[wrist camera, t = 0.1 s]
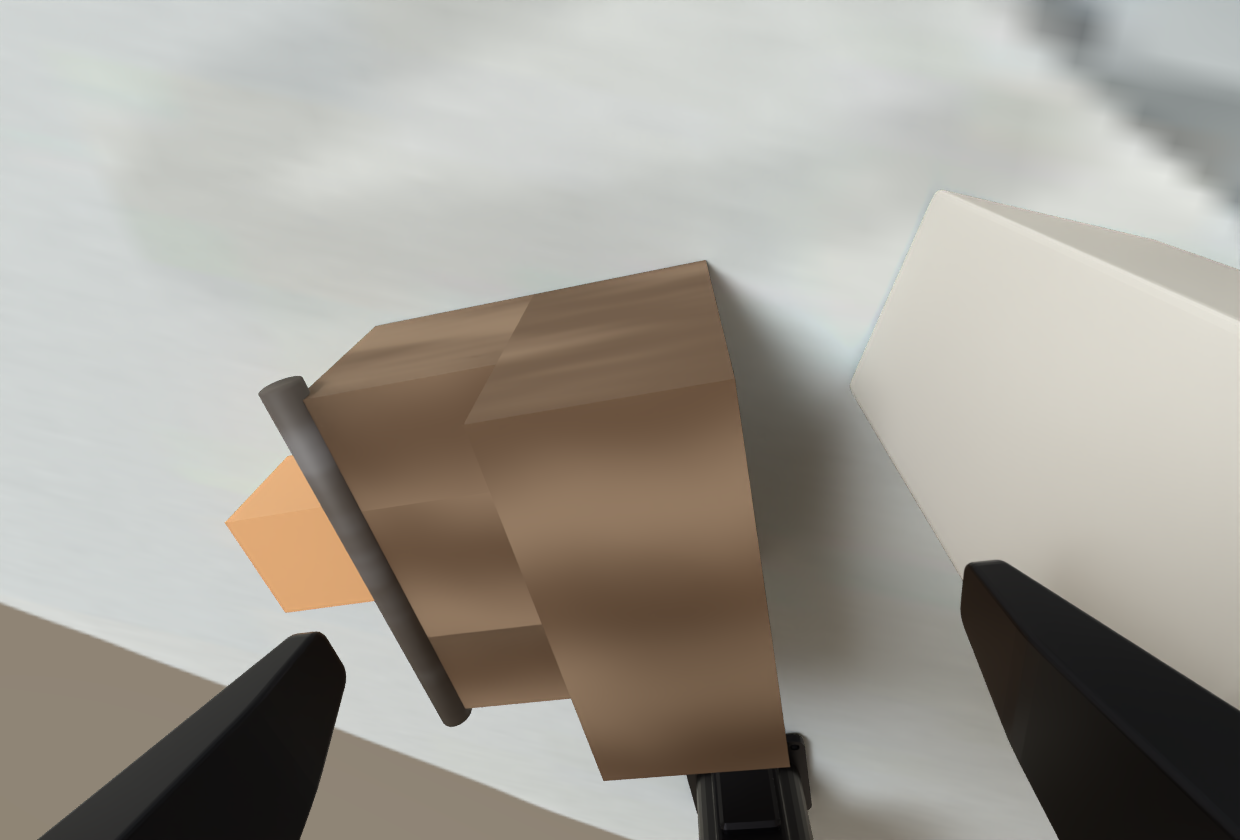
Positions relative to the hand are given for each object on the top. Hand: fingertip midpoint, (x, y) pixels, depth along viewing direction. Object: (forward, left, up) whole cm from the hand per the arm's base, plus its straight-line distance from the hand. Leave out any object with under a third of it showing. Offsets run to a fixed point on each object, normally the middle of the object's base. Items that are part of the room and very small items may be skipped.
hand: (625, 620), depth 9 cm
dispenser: (-6, +4, -15) cm, 16 cm away
